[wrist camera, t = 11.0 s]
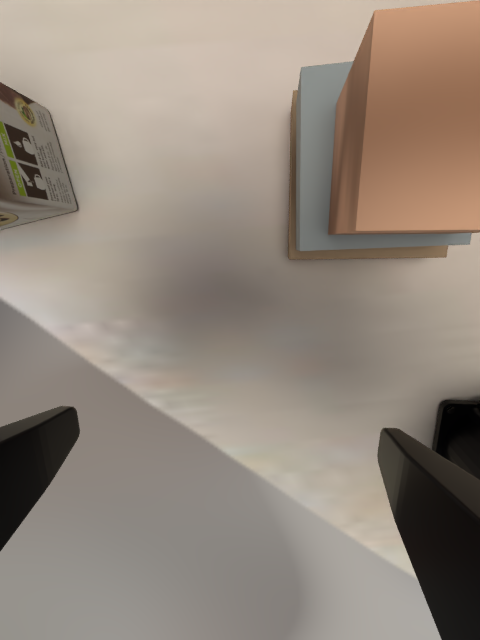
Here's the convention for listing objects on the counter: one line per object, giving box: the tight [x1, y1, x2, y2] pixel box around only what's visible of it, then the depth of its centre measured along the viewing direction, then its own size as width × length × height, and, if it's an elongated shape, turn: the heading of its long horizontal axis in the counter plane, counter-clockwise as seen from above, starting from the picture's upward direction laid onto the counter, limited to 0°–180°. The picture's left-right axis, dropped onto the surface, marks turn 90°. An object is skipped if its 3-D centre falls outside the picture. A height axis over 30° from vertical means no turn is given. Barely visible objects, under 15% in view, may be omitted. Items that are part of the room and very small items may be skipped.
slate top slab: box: [296, 61, 471, 251], centre depth 14 cm, size 7×7×3 cm
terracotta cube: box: [328, 0, 480, 235], centre depth 10 cm, size 5×5×5 cm
